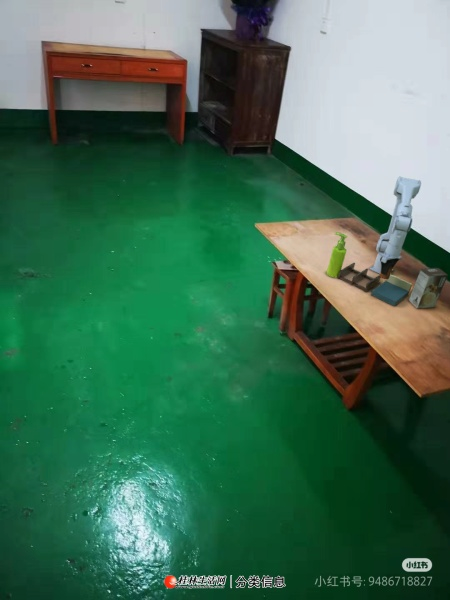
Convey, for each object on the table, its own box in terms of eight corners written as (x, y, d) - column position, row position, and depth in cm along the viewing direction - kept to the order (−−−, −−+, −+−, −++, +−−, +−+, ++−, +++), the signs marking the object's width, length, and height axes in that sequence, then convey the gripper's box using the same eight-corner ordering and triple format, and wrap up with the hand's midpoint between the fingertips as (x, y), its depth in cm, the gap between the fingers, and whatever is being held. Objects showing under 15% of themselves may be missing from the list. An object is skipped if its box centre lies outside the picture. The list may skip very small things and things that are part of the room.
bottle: (382, 273, 201) (386, 259, 197) (390, 277, 199) (395, 263, 195) (377, 276, 198) (382, 262, 194) (386, 280, 196) (391, 266, 192)
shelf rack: (351, 269, 216) (353, 262, 214) (379, 282, 208) (381, 275, 206) (337, 278, 208) (339, 270, 206) (365, 292, 200) (368, 284, 198)
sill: (385, 284, 207) (389, 273, 204) (408, 295, 202) (412, 283, 198) (370, 295, 198) (374, 283, 195) (394, 306, 192) (398, 294, 189)
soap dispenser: (328, 269, 214) (338, 230, 203) (341, 274, 211) (352, 235, 200) (322, 273, 210) (332, 233, 199) (335, 279, 207) (346, 239, 196)
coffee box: (425, 299, 200) (438, 267, 192) (434, 307, 195) (448, 275, 186) (408, 300, 198) (420, 268, 189) (416, 308, 193) (430, 276, 184)
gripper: (396, 252, 183) (386, 281, 190) (411, 242, 192) (401, 270, 200) (380, 245, 187) (371, 274, 194) (396, 236, 196) (387, 264, 204)
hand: (385, 272), depth 197 cm, fingers closed on bottle, 4 cm apart
